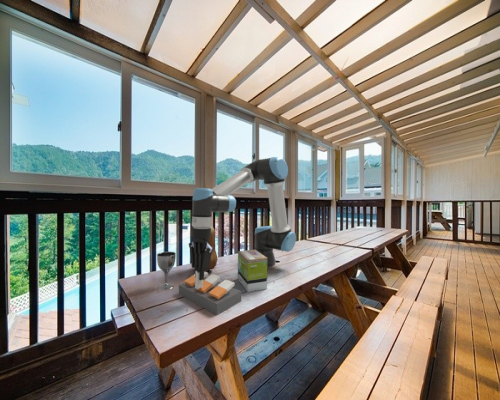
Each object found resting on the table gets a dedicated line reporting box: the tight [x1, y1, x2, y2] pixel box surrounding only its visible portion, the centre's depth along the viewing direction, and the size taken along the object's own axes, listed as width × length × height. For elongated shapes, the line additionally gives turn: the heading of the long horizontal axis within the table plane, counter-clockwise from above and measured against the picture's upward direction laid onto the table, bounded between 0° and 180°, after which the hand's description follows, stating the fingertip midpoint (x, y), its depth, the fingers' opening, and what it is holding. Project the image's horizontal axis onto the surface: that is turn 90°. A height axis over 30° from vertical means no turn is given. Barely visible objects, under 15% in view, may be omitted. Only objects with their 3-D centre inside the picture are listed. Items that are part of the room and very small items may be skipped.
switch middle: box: [197, 273, 222, 293], centre depth 85 cm, size 9×5×2 cm, turn 141°
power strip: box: [178, 276, 242, 316], centre depth 89 cm, size 22×24×4 cm
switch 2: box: [209, 279, 236, 299], centre depth 80 cm, size 9×5×2 cm, turn 141°
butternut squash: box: [205, 226, 218, 272], centre depth 115 cm, size 14×13×25 cm
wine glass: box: [156, 251, 176, 291], centre depth 95 cm, size 8×8×15 cm
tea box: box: [237, 249, 268, 293], centre depth 100 cm, size 15×10×15 cm, turn 21°
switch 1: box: [183, 271, 209, 286], centre depth 90 cm, size 9×5×2 cm, turn 141°
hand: (199, 287), depth 82 cm, fingers closed
